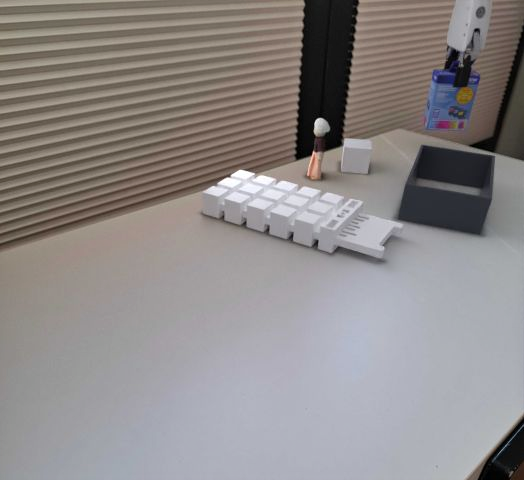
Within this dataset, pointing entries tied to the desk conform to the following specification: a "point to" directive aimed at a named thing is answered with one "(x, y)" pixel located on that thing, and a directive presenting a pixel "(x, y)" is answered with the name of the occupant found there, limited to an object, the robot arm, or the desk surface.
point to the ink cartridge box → (449, 101)
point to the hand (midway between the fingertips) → (454, 82)
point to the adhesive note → (356, 156)
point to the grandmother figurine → (318, 148)
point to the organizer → (298, 213)
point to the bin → (444, 201)
